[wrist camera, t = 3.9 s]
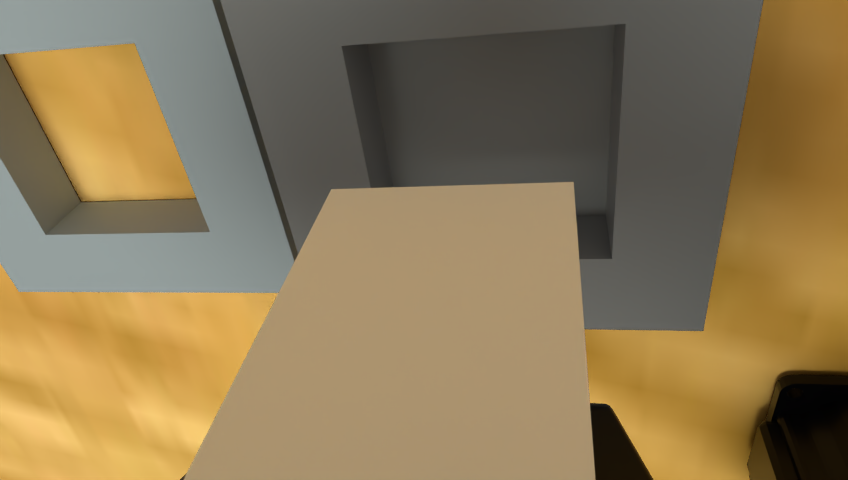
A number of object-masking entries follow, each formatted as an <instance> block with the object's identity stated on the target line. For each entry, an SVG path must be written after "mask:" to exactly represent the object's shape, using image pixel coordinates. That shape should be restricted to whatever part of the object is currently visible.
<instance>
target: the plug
mask: <svg viewBox="0 0 848 480" xmlns="http://www.w3.org/2000/svg"><path fill="white" fill-rule="evenodd" d="M184 480H595V467H594V453H593V439H592V426H591V412H590V398H589V385H588V371H587V358H586V344H585V330H584V317H583V303H582V290H581V276H580V262H579V249H578V235H577V221H576V208H575V194H574V182H553V183H520V184H487V185H454V186H421V187H388V188H355V189H331V191H330V193H329V195H328V197H327V199H326V201H325V203H324V205H323V207H322V209H321V211H320V213H319V215H318V217H317V218H316V220H315V222H314V224H313V226H312V228H311V230H310V232H309V234H308V236H307V238H306V240H305V242H304V244H303V246H302V248H301V250H300V252H299V254H298V256H297V258H296V260H295V262H294V264H293V266H292V268H291V270H290V272H289V273H288V275H287V277H286V279H285V281H284V283H283V285H282V287H281V289H280V291H279V293H278V295H277V297H276V299H275V301H274V303H273V305H272V307H271V309H270V311H269V313H268V315H267V317H266V319H265V321H264V323H263V325H262V327H261V328H260V330H259V332H258V334H257V336H256V338H255V340H254V342H253V344H252V346H251V348H250V350H249V352H248V354H247V356H246V358H245V360H244V362H243V364H242V366H241V368H240V370H239V372H238V374H237V376H236V378H235V380H234V382H233V383H232V385H231V387H230V389H229V391H228V393H227V395H226V397H225V399H224V401H223V403H222V405H221V407H220V409H219V411H218V413H217V415H216V417H215V419H214V421H213V423H212V425H211V427H210V429H209V431H208V433H207V435H206V436H205V438H204V440H203V442H202V444H201V446H200V448H199V450H198V452H197V454H196V456H195V458H194V460H193V462H192V464H191V466H190V468H189V470H188V472H187V474H186V476H185V478H184Z"/></svg>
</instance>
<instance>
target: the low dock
mask: <svg viewBox="0 0 848 480" xmlns="http://www.w3.org/2000/svg"><path fill="white" fill-rule="evenodd" d="M130 43H135V45H136V48H137V50H138V53H139V55H140V58H141V61H142V63H143V66H144V68H145V71H146V73H147V76H148V78H149V81H150V83H151V86H152V88H153V91H154V93H155V96H156V98H157V101H158V103H159V106H160V108H161V111H162V113H163V116H164V118H165V121H166V123H167V126H168V128H169V131H170V133H171V136H172V138H173V141H174V143H175V146H176V148H177V151H178V153H179V156H180V158H181V161H182V163H183V166H184V168H185V171H186V173H187V176H188V178H189V181H190V183H191V186H192V188H193V191H194V193H195V196H196V198H197V199H177V200H142V201H107V202H80V200H79V198H78V196H77V194H76V192H75V190H74V188H73V187H72V185H71V183H70V181H69V179H68V177H67V175H66V173H65V171H64V170H63V168H62V166H61V164H60V162H59V160H58V158H57V156H56V154H55V153H54V151H53V149H52V147H51V145H50V143H49V141H48V139H47V137H46V135H45V134H44V132H43V130H42V128H41V126H40V124H39V122H38V120H37V118H36V117H35V115H34V113H33V111H32V109H31V107H30V105H29V103H28V101H27V100H26V98H25V96H24V94H23V92H22V90H21V88H20V86H19V84H18V82H17V81H16V79H15V77H14V75H13V73H12V71H11V69H10V67H9V65H8V64H7V62H6V60H5V58H4V56H3V54H12V53H24V52H36V51H47V50H59V49H71V48H83V47H95V46H107V45H118V44H130ZM297 256H298V252H297V249H296V245H295V242H294V239H293V236H292V232H291V229H290V226H289V223H288V219H287V216H286V213H285V210H284V206H283V203H282V200H281V197H280V193H279V190H278V187H277V183H276V180H275V177H274V174H273V170H272V167H271V164H270V161H269V157H268V154H267V151H266V148H265V144H264V141H263V138H262V135H261V131H260V128H259V125H258V122H257V118H256V115H255V112H254V109H253V105H252V102H251V99H250V96H249V92H248V89H247V86H246V82H245V79H244V76H243V73H242V69H241V66H240V63H239V60H238V56H237V53H236V50H235V47H234V43H233V40H232V37H231V34H230V30H229V27H228V24H227V21H226V17H225V14H224V11H223V8H222V4H221V1H220V0H0V263H1V265H2V266H3V268H4V270H5V271H6V273H7V274H8V276H9V277H10V279H11V280H12V282H13V283H14V285H15V286H16V288H17V289H18V291H19V292H218V293H279V291H280V289H281V287H282V285H283V283H284V281H285V279H286V277H287V275H288V273H289V272H290V270H291V268H292V266H293V264H294V262H295V260H296V258H297Z"/></svg>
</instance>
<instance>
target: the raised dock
mask: <svg viewBox="0 0 848 480" xmlns="http://www.w3.org/2000/svg"><path fill="white" fill-rule="evenodd" d="M220 1H221V4H222V8H223V11H224V14H225V17H226V21H227V24H228V27H229V30H230V34H231V37H232V40H233V43H234V47H235V50H236V53H237V56H238V60H239V63H240V66H241V69H242V73H243V76H244V79H245V82H246V86H247V89H248V92H249V96H250V99H251V102H252V105H253V109H254V112H255V115H256V118H257V122H258V125H259V128H260V131H261V135H262V138H263V141H264V144H265V148H266V151H267V154H268V157H269V161H270V164H271V167H272V170H273V174H274V177H275V180H276V183H277V187H278V190H279V193H280V197H281V200H282V203H283V206H284V210H285V213H286V216H287V219H288V223H289V226H290V229H291V232H292V236H293V239H294V242H295V245H296V249H297V252H298V254H299V252H300V250H301V248H302V246H303V244H304V242H305V240H306V238H307V236H308V234H309V232H310V230H311V228H312V226H313V224H314V222H315V220H316V218H317V217H318V215H319V213H320V211H321V209H322V207H323V205H324V203H325V201H326V199H327V197H328V195H329V193H330V191H331V189H355V188H388V187H421V186H454V185H487V184H520V183H553V182H574V194H575V208H576V221H577V235H578V249H579V262H580V276H581V290H582V303H583V317H584V329H607V330H673V331H703V330H704V324H705V319H706V313H707V308H708V302H709V297H710V291H711V286H712V280H713V275H714V269H715V264H716V258H717V253H718V247H719V242H720V236H721V231H722V225H723V220H724V214H725V209H726V203H727V198H728V192H729V187H730V181H731V175H732V170H733V164H734V159H735V153H736V148H737V142H738V137H739V131H740V126H741V120H742V115H743V109H744V104H745V98H746V93H747V87H748V82H749V76H750V71H751V65H752V60H753V54H754V49H755V43H756V38H757V32H758V27H759V21H760V16H761V10H762V5H763V0H220Z"/></svg>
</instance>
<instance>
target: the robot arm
mask: <svg viewBox="0 0 848 480" xmlns="http://www.w3.org/2000/svg"><path fill="white" fill-rule="evenodd" d="M590 412H591V426H592V439H593V453H594V467H595V480H653V478H652V476H651V475H650V473H649V471H648V469H647V468H646V466H645V464H644V462H643V461H642V459H641V457H640V456H639V454H638V452H637V450H636V449H635V447H634V445H633V443H632V442H631V440H630V438H629V437H628V435H627V433H626V431H625V430H624V428H623V426H622V424H621V423H620V421H619V419H618V418H617V416H616V414H615V412H614V411H613V409H612V408H611V407H610V406H609V405H607V404H596V403H590ZM747 466H748V470H749V473H750V474H749V478H750V480H848V376H823V375H788V376H785V377H782V378H781V379H780V380H778V382H777V383H776V386H775V390H774V393H773V396H772V400H771V403H770V407H769V410H768V413H767V417H766V420H765V421H763V422H762V423H761V424H760V425H759V426H758V428H757V432H756V435H755V438H754V442H753V445H752V449H751V452H750V456H749V459H748V463H747ZM186 474H187V473H186ZM186 474H185V475H184V476H183V477H182V478H181V479H180V480H184V478H185V476H186Z"/></svg>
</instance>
